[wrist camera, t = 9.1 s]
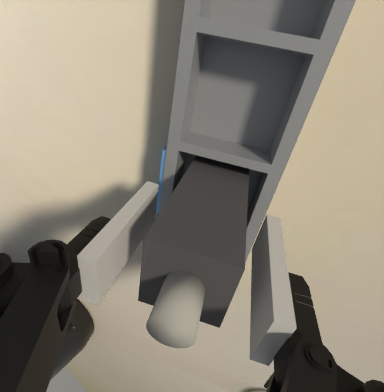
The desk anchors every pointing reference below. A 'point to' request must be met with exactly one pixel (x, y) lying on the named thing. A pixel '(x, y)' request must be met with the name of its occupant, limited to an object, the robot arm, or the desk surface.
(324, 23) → the compartment organizer tray
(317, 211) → the desk surface
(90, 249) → the robot arm
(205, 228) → the grey block with peg
